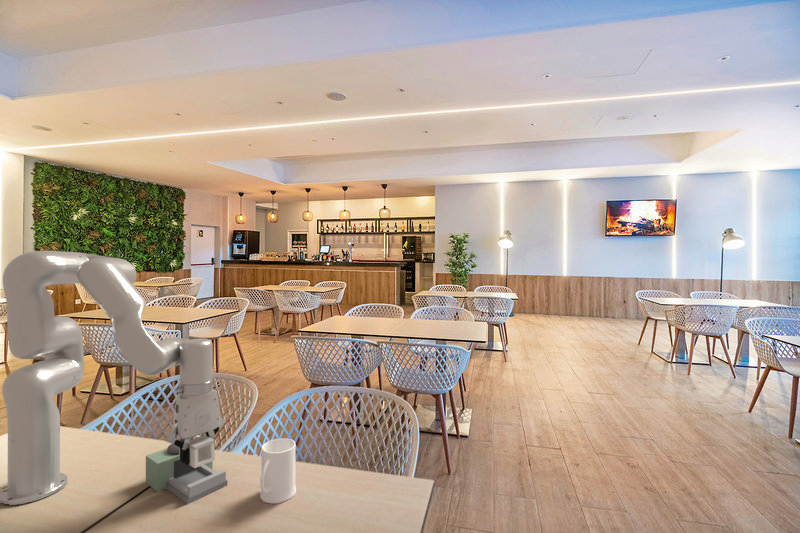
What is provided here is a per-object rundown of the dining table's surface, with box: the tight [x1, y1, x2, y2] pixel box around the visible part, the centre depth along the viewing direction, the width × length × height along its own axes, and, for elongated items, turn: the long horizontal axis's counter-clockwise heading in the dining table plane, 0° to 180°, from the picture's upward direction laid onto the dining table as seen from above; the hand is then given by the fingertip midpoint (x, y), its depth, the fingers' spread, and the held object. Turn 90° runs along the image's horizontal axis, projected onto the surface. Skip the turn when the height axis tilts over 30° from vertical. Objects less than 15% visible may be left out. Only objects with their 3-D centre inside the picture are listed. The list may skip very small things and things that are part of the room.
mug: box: [259, 438, 297, 504], centre depth 95 cm, size 12×8×12 cm
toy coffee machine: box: [145, 443, 228, 505], centre depth 102 cm, size 18×14×8 cm
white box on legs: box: [179, 434, 216, 468], centre depth 100 cm, size 8×5×5 cm, turn 54°
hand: (196, 457), depth 100 cm, fingers closed on white box on legs, 4 cm apart
